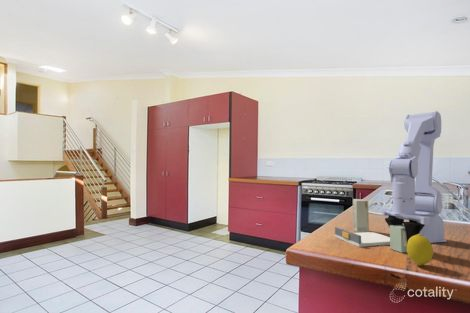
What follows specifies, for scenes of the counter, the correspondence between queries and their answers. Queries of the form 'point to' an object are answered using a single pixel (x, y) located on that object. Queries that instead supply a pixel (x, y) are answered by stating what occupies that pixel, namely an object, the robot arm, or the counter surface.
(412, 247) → the lemon
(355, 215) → the skincare box
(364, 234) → the shelf board
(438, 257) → the counter surface
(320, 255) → the counter surface
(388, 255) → the counter surface
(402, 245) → the carton
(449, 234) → the counter surface
